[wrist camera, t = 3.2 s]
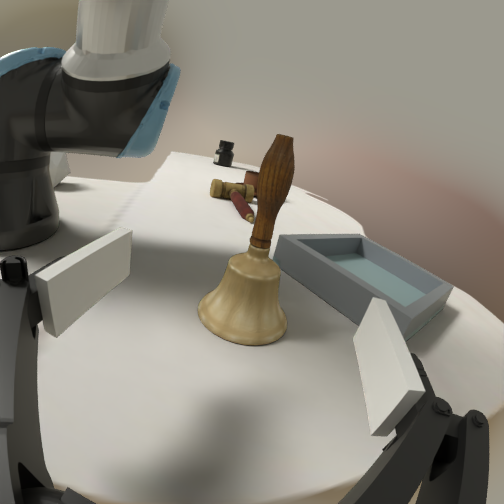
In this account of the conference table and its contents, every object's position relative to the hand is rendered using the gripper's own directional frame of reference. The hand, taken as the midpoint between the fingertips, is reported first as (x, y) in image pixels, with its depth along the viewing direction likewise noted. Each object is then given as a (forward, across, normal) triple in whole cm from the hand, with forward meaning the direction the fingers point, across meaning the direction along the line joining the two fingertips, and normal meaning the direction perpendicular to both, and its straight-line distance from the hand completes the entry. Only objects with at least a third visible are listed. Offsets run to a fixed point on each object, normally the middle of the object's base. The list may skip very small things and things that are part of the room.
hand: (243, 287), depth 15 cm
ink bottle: (+125, -33, -8) cm, 130 cm away
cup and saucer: (+69, -8, -8) cm, 70 cm away
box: (+24, +15, -8) cm, 29 cm away
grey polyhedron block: (+32, -48, -8) cm, 58 cm away
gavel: (+48, -8, -9) cm, 50 cm away
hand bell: (+9, 0, -8) cm, 12 cm away
